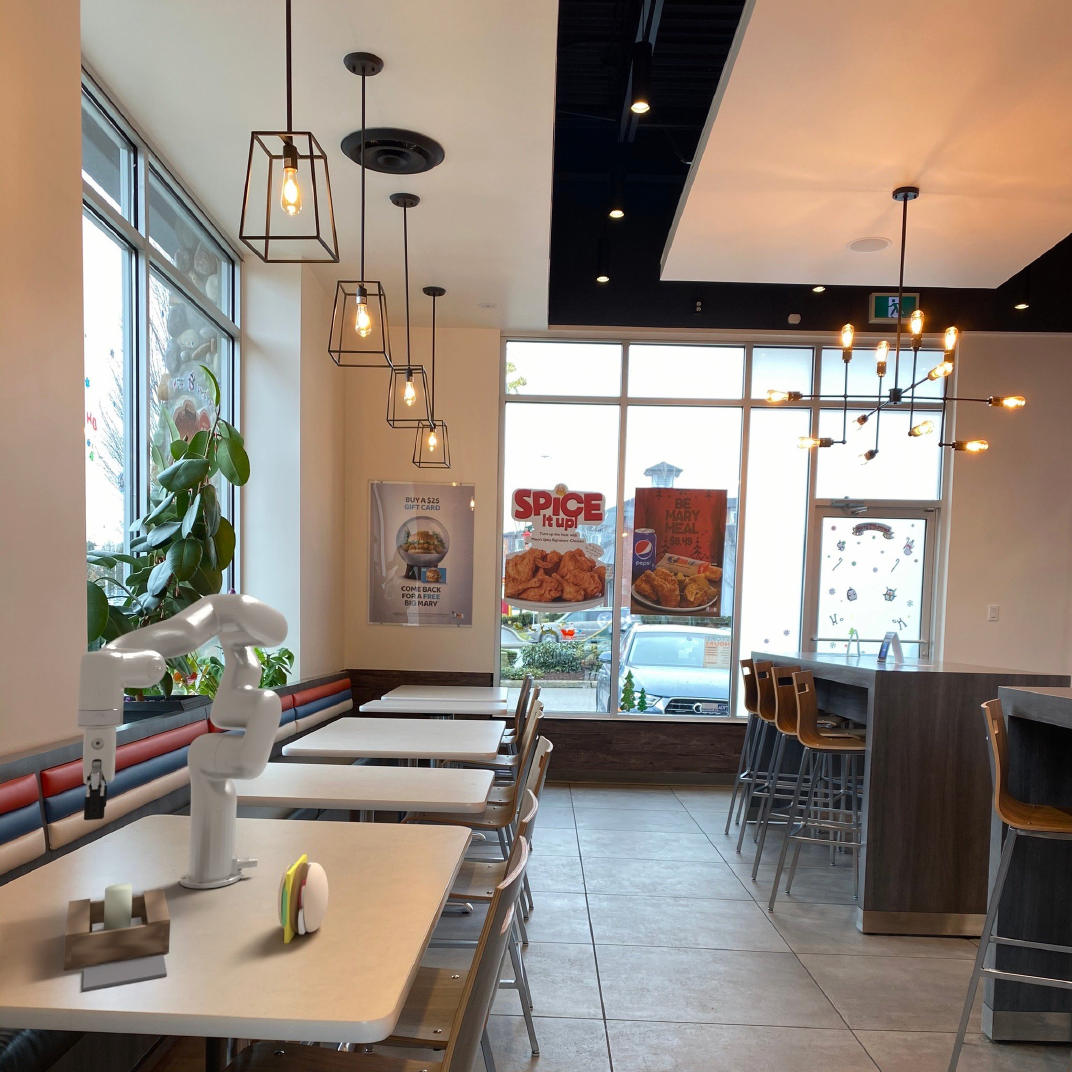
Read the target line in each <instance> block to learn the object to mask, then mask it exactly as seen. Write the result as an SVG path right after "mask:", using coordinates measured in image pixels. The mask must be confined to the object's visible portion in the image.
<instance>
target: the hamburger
mask: <svg viewBox="0 0 1072 1072" xmlns="http://www.w3.org/2000/svg"><path fill="white" fill-rule="evenodd" d="M277 897H278V898H277V915H278V919H279V923H280V926H281V928H282V929H283V930H284V934H283V935H284V937H283V938H284V939H283V940H284V941H283V944H289V943H290V942H291V940H292V939H293V937H294V936H295V934H297V933H298V934H299V935H304V934H305V933H307V932H308V933H313V932H315V931H316V930H317V929H318V928H320V926H321V925H322V923H323V920H324V918H325V916H326V913H327V908H328V903H329V882H328V877H327V874H326V872H325V870H324V868H323V867H322V866H321V864H319V863H318V862H308V854H302V855H301V857H299V859H298V860H297V861H296V862H295V863H291V864H289V865H288V866H287V867H286V868H285V870H284V872H283V873H282V876H281V879H280V883H279V888H278V896H277Z"/></svg>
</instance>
